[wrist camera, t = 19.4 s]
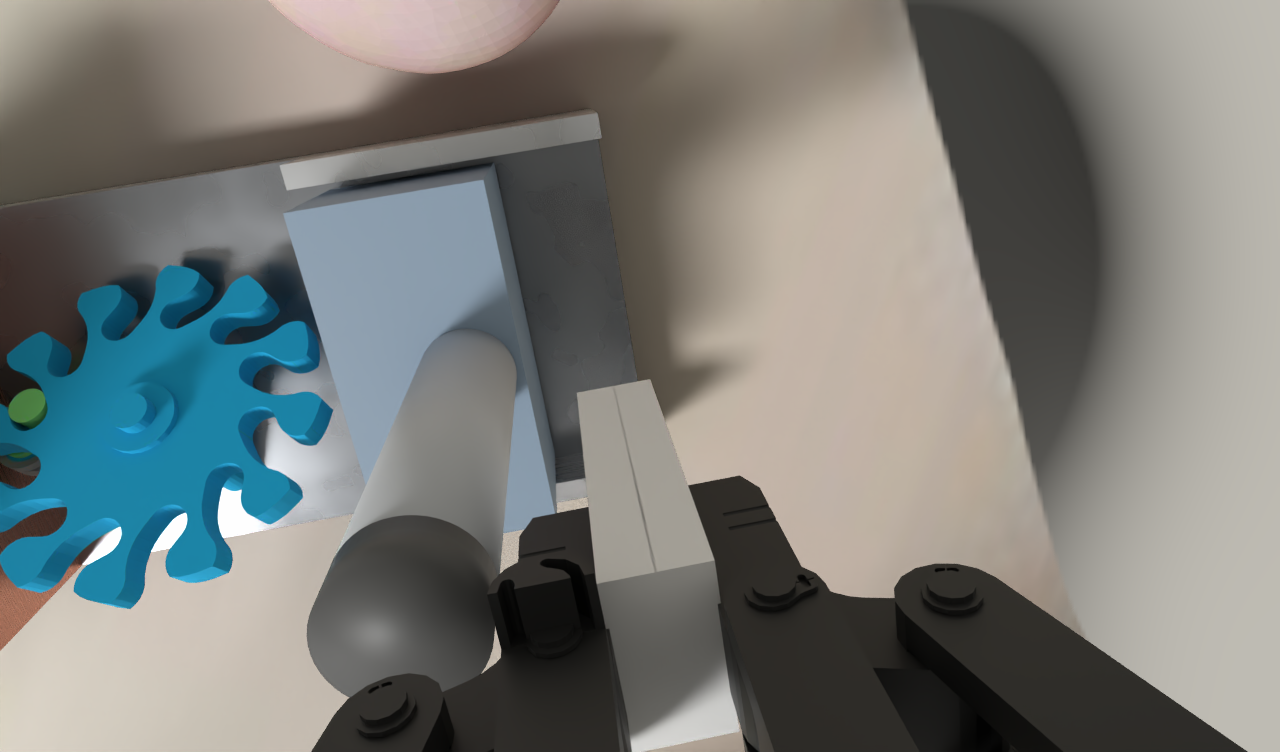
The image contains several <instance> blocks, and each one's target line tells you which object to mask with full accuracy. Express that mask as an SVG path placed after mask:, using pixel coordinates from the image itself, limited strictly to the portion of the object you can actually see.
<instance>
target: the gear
mask: <svg viewBox="0 0 1280 752" xmlns="http://www.w3.org/2000/svg"><path fill="white" fill-rule="evenodd" d="M213 289H214V287H213V286H212V285H211V284H210V283H209V282H208V281H207V280H206V279H205V278H204V277H203V276H202V275H201V274H200V273H198V272H197V271H195V270H193V269H190V268H187V267H182V266H173V265H167V266H166V267H165V268H164V269H163V270H162V271H161V272H160V273H159V275H158V277H157V280H156V291H155V296H154V300H153V303H152V305H151V307H150V309H149V311H148V313H147V314H146V316H145V317H144V318H143V320H142V321H141V322H140V323H139V325H138V326H137V327H136V328H135V329H134V330H133V331H132V332H131V333H130V334H129V335H128V336H127V337H125V338H123V339H121V340H119V338H120V336H121V334H122V333H123V331H124V330H125V329H126V328H127V327H128V326H129V324H130V323H131V322H132V321H133V320H134V318H135V317H136V315H137V312H138V304H137V301H136V300H135V298H133V297H132V296H131V295H130V294H128V293H127V292H126V291H125V290H123V289H122V288H121V287H120V286H119V285H109V286H103V287H99V288H96V289H92V290H90V291H87V292H84V293H82V294H81V295H80V297H79V300H78V303H77V308H78V311H79V313H80V314H81V315H82V317H83V318H84V320H85V323H86V325H87V331H88V341H87V346H86V350H85V353H84V357H83V360H82V362H81V365H80V366H79V367H78V369H77V370H76V371H74V372H73V373H72V374H70V375H68V376H67V373H68V370H69V366H70V363H71V358H72V357H71V352H70V350H69V349H68V347H66V346H65V345H63V344H62V343H60V342H59V341H57V340H56V339H54V338H52V337H51V336H49V335H48V334H46V333H44V332H39V333H37V334H34V335H32V336H31V337H29V338H27V339H26V340H24V341H23V342H22V343H20V344H19V345H18V346H17V347H15V348H14V349H13V350H12V351H11V352H10V353H9V354H7V362H8V365H9V366H10V367H11V368H12V369H14V370H15V371H17V372H19V373H21V374H23V375H24V376H26V377H28V378H30V379H31V380H33V381H35V382H37V383H38V384H39V385H40V387H41V389H42V391H43V392H42V391H40V390H38V389H27V390H24V391H22V392H20V393H19V394H18V395H16V396H15V397H14V398H13V400H12V401H11V403H10V405H9V408H8V407H6V406H4V405H2V404H0V462H1V463H2V464H3V465H4V466H6V467H8V468H11V469H13V470H16V471H18V472H21V473H23V474H25V475H30V476H37V478H36V479H35V480H34V481H33V482H32V483H31V484H30V485H28V486H26V487H25V488H22V489H18V488H16V487H13V486H11V485H8V484H5V483H3V482H0V533H1V532H4V531H7V530H9V529H11V528H12V527H13V526H15V525H16V524H17V523H19V522H20V521H22V520H23V519H25V518H27V517H28V516H30V515H32V514H35V513H37V512H39V511H42V510H46V509H50V508H57V507H67V517H66V520H65V522H64V524H63V525H62V526H61V527H60V528H59V529H58V530H57V531H56V532H54V533H53V534H51V535H48V536H43V537H25V538H21V539H18V540H16V541H14V542H12V543H11V544H10V545H8V546H7V547H6V548H5V549H4V550H3V552H2V553H1V555H0V564H1V566H2V569H3V571H4V572H5V574H6V575H7V577H8V578H9V579H10V580H11V581H12V583H13V584H14V585H15V586H16V587H17V588H21V589H26V590H30V591H34V592H38V593H42V592H45V591H48V590H49V589H51V588H53V587H54V586H55V585H57V584H58V583H59V582H60V580H61V579H62V578H63V576H64V575H65V573H66V571H67V569H68V568H69V566H70V565H71V563H72V562H73V561H74V559H75V558H76V557H77V556H78V555H79V554H80V553H81V552H82V551H83V550H84V549H85V548H86V547H87V546H88V545H90V544H91V543H92V542H93V541H95V540H96V539H98V538H100V537H101V536H103V535H105V534H107V533H108V532H110V531H112V530H114V529H116V528H118V527H121V538H120V540H119V542H118V544H117V545H116V547H115V548H114V549H113V550H112V551H111V552H109V553H108V554H106V555H104V556H102V557H100V558H99V559H97V560H95V561H93V562H91V563H90V564H88V565H87V566H86V567H85V568H84V569H83V570H82V571H81V573H80V574H79V575H78V577H77V579H76V582H75V585H74V592H75V593H76V594H77V595H79V596H80V597H82V598H85V599H87V600H90V601H94V602H98V603H103V604H107V605H111V606H115V607H120V608H127V609H131V608H132V607H133V606H134V605H135V604H136V603H137V602H138V600H139V599H140V597H141V595H142V593H143V590H144V586H145V571H146V565H147V562H148V559H149V556H150V553H151V551H152V549H153V547H154V545H155V543H156V542H157V540H158V539H159V537H160V536H161V535H162V533H163V532H164V531H165V529H166V528H167V527H168V526H169V524H170V523H171V522H172V521H173V520H174V519H175V518H176V517H178V516H179V515H181V514H184V513H186V515H187V524H186V527H185V529H184V531H183V532H182V534H181V535H180V536H179V537H178V539H177V540H176V541H175V543H174V544H173V545H172V547H171V548H170V550H169V552H168V554H167V557H166V570H167V573H168V575H169V576H170V577H172V578H175V579H178V580H182V581H185V582H189V583H197V582H203V581H207V580H211V579H214V578H217V577H219V576H222V575H224V574H226V573H229V571H230V569H231V566H232V561H233V558H232V552H231V550H230V548H229V546H228V545H227V544H226V542H225V541H224V539H223V537H222V534H221V532H220V528H219V524H218V509H219V502H220V497H221V492H222V488H223V487H224V488H226V489H227V490H230V491H239V490H242V492H241V505H242V507H243V509H244V510H245V511H246V513H248V514H249V515H251V516H252V517H254V518H256V519H258V520H260V521H262V522H264V523H266V524H269V525H270V524H272V523H274V522H276V521H278V520H280V519H281V518H282V517H284V516H285V515H286V514H288V513H289V512H290V511H291V510H292V509H293V508H294V507H295V506H296V505H297V504H298V503H299V502H300V501H301V499H302V498H303V492H302V490H301V487H300V486H299V485H298V484H297V483H296V482H295V481H293V480H292V479H290V478H289V477H287V476H286V475H284V474H283V473H281V472H279V471H276V470H273V469H269V468H267V467H266V465H265V464H264V463H263V462H262V460H261V458H260V457H259V455H258V453H257V450H256V448H255V445H254V443H253V433H254V430H255V428H256V427H257V426H258V424H259V423H261V422H262V421H264V420H265V419H268V418H273V417H276V419H277V422H278V424H279V426H280V428H281V429H282V430H283V431H284V432H285V433H286V434H288V435H289V436H290V437H291V438H293V439H294V440H295V441H297V442H298V443H300V444H302V445H306V446H313V445H317V443H318V442H319V441H320V440H321V439H322V437H323V435H324V433H325V432H326V430H327V427H328V425H329V422H330V419H331V416H332V413H333V409H332V408H331V407H330V406H329V405H328V404H327V403H326V402H324V401H323V400H322V399H321V398H320V397H319V396H318V395H317V394H315V393H312V392H299V393H295V394H289V395H272V394H268V393H264V392H261V391H259V390H257V389H255V388H253V379H254V377H255V375H256V373H257V372H258V371H259V370H260V369H261V368H263V367H265V366H268V365H272V364H275V365H280V366H282V367H284V368H286V369H288V370H289V371H291V372H294V373H298V374H304V373H308V372H311V371H313V370H315V369H316V368H318V366H319V362H320V350H319V344H318V340H317V337H316V334H315V333H314V332H313V331H312V330H311V329H310V328H309V327H308V326H307V324H306V323H305V322H301V321H293V322H289V323H286V324H284V325H283V326H281V327H280V328H279V329H277V330H276V331H275V332H273V333H271V334H269V335H268V336H266V337H264V338H261V339H259V340H256V341H253V342H249V343H244V344H232V345H224V343H225V340H226V338H227V336H228V335H229V334H230V333H231V332H232V331H233V330H235V329H237V328H239V327H245V326H261V325H264V324H267V323H269V322H270V321H272V320H273V319H274V318H275V317H276V316H277V315H278V313H279V312H280V310H279V307H278V305H277V303H276V302H275V301H274V299H273V298H272V297H271V296H270V295H269V294H268V293H267V292H266V291H265V290H264V289H263V287H262V286H261V285H260V284H259V283H258V282H257V281H255V280H254V279H253V278H251V277H250V276H249V275H246V276H242V277H240V278H238V279H237V280H235V281H234V282H233V283H232V284H231V285H230V286H229V288H228V289H227V291H226V293H225V295H224V296H223V297H222V299H221V300H220V301H219V303H218V304H217V305H216V306H215V307H214V308H213V309H212V310H210V311H209V312H208V313H206V314H205V315H204V316H202V317H200V318H199V319H197V320H195V321H193V322H191V323H189V324H187V325H185V326H183V327H181V328H178V329H176V326H177V324H178V322H179V321H180V320H181V319H182V318H183V317H184V316H185V315H187V314H189V313H191V312H193V311H195V310H197V309H199V308H201V307H202V306H204V305H205V304H206V303H207V302H208V301H209V300H210V298H211V296H212V294H213Z"/></svg>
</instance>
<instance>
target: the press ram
mask: <svg viewBox="0 0 1280 752" xmlns="http://www.w3.org/2000/svg"><path fill="white" fill-rule="evenodd" d="M283 215H284V218H285V222H286V225H287V228H288V231H289V235H290V238H291V241H292V245H293V248H294V251H295V254H296V258H297V261H298V264H299V268H300V271H301V274H302V277H303V281H304V284H305V287H306V291H307V294H308V297H309V300H310V304H311V307H312V310H313V314H314V317H315V320H316V323H317V327H318V330H319V333H320V336H321V340H322V343H323V346H324V350H325V353H326V356H327V359H328V363H329V366H330V369H331V373H332V376H333V379H334V382H335V386H336V389H337V392H338V396H339V399H340V402H341V405H342V409H343V412H344V415H345V419H346V422H347V425H348V428H349V432H350V435H351V438H352V442H353V445H354V448H355V451H356V455H357V458H358V461H359V465H360V468H361V471H362V474H363V478H364V481H365V484H366V487H365V489H364V491H363V493H362V496H361V498H360V500H359V502H358V505H357V507H356V509H355V512H354V514H353V516H352V518H351V521H350V523H349V525H348V528H347V530H346V532H345V534H344V537H343V539H342V541H341V543H340V546H339V548H338V550H337V553H336V555H335V557H334V559H333V562H332V564H331V566H330V569H329V571H328V573H327V575H326V578H325V580H324V582H323V585H322V587H321V589H320V591H319V594H318V596H317V598H316V600H315V603H314V605H313V608H312V610H311V613H310V615H309V620H308V624H307V642H308V647H309V651H310V655H311V657H312V659H313V661H314V664H315V665H316V667H317V669H318V670H319V672H320V673H321V674H322V676H323V677H324V678H325V679H326V680H327V681H328V682H329V683H330V684H331V685H332V686H333V687H334V688H336V689H337V690H338V691H340V692H341V693H343V694H344V695H346V696H348V697H352V696H353V695H354V694H356V693H357V692H359V691H360V690H362V689H363V688H364V687H366V686H367V685H370V684H372V683H374V682H377V681H379V680H382V679H384V678H386V677H390V676H395V675H401V674H407V673H411V674H419V675H427V676H428V677H430V678H431V679H433V680H435V681H436V682H438V683H439V685H440V688H441V690H442V692H444V691H446V690H448V689H451V688H453V687H455V686H458V685H460V684H462V683H464V682H467V681H469V680H471V679H472V678H474V677H476V676H478V675H480V674H481V673H482V671H483V670H484V668H485V667H486V665H487V663H488V660H489V658H490V655H491V652H492V649H493V642H494V632H495V623H494V620H493V616H492V612H491V608H490V604H489V601H488V597H487V593H488V591H489V588H490V586H491V583H492V581H493V580H494V579H496V578H497V577H498V576H499V575H500V564H501V552H502V541H503V533H507V532H513V531H518V530H523V529H525V528H526V527H527V525H528V524H529V523H530V521H531V520H532V518H535V517H540V516H545V515H550V514H555V513H557V503H556V473H555V452H554V447H553V442H552V437H551V433H550V428H549V423H548V418H547V414H546V409H545V404H544V399H543V394H542V390H541V385H540V380H539V375H538V370H537V366H536V361H535V356H534V351H533V346H532V342H531V337H530V332H529V327H528V323H527V318H526V313H525V308H524V303H523V299H522V294H521V289H520V284H519V279H518V275H517V270H516V265H515V260H514V256H513V251H512V246H511V241H510V236H509V232H508V227H507V222H506V217H505V212H504V208H503V203H502V198H501V193H500V188H499V184H498V179H497V174H496V169H495V165H494V162H492V163H486V164H480V165H474V166H468V167H462V168H456V169H450V170H444V171H438V172H432V173H426V174H420V175H414V176H408V177H402V178H396V179H390V180H384V181H378V182H372V183H366V184H360V185H354V186H348V187H342V188H336V189H330V190H328V191H326V192H324V193H322V194H320V195H318V196H316V197H314V198H312V199H310V200H308V201H306V202H304V203H302V204H300V205H298V206H296V207H294V208H292V209H290V210H288V211H286V212H284V213H283Z"/></svg>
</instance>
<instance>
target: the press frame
mask: <svg viewBox="0 0 1280 752" xmlns="http://www.w3.org/2000/svg"><path fill="white" fill-rule="evenodd" d="M600 138H602V136H601V130H600V124H599V118H598V113H597V112H595V111H593V110H592V109H585V110H579V111H573V112H567V113H561V114H555V115H549V116H542V117H536V118H530V119H524V120H518V121H512V122H506V123H500V124H494V125H488V126H481V127H475V128H469V129H463V130H457V131H451V132H445V133H439V134H433V135H427V136H420V137H414V138H408V139H402V140H396V141H390V142H384V143H378V144H372V145H366V146H359V147H353V148H347V149H341V150H335V151H329V152H323V153H317V154H311V155H305V156H298V157H292V158H286V159H280V160H274V161H268V162H262V163H256V164H250V165H244V166H238V167H231V168H225V169H219V170H213V171H207V172H201V173H195V174H189V175H183V176H177V177H170V178H164V179H158V180H152V181H146V182H140V183H134V184H128V185H122V186H116V187H109V188H103V189H97V190H91V191H85V192H79V193H73V194H67V195H61V196H55V197H48V198H42V199H36V200H30V201H24V202H18V203H12V204H6V205H0V404H2V405H4V406H6V407H8V408H9V405H10V403H11V401H12V400H13V398H14V397H15V396H16V395H18V394H19V393H20V392H22V391H24V390H27V389H38V390H40V391H42V389H41V387H40V385H39V384H38V383H37V382H35V381H33V380H31V379H30V378H28V377H26V376H24V375H23V374H21V373H19V372H17V371H15V370H14V369H12V368H11V367H10V366H9V365H8V362H7V354H9V353H10V352H11V351H12V350H13V349H14V348H15V347H17V346H18V345H19V344H20V343H22V342H23V341H24V340H26V339H27V338H29V337H31V336H32V335H34V334H37V333H39V332H44V333H46V334H48V335H49V336H51V337H52V338H54V339H56V340H57V341H59V342H60V343H62V344H63V345H65V346H66V347H68V349H69V350H70V352H71V357H72V358H71V363H70V366H69V370H68V373H67V376H68V375H70V374H72V373H73V372H74V371H76V370H77V369H78V367H79V366H80V365H81V362H82V360H83V357H84V353H85V350H86V346H87V341H88V331H87V325H86V323H85V320H84V318H83V317H82V315H81V314H80V313H79V311H78V308H77V303H78V300H79V297H80V295H81V294H82V293H84V292H87V291H90V290H92V289H96V288H99V287H103V286H109V285H119V286H120V287H121V288H122V289H123V290H125V291H126V292H127V293H128V294H130V295H131V296H132V297H133V298H135V300H136V301H137V304H138V312H137V315H136V317H135V318H134V320H133V321H132V322H131V323H130V324H129V326H128V327H127V328H126V329H125V330H124V331H123V333H122V334H121V336H120V338H119V340H121V339H123V338H125V337H127V336H128V335H129V334H130V333H131V332H132V331H133V330H134V329H135V328H136V327H137V326H138V325H139V323H140V322H141V321H142V320H143V318H144V317H145V316H146V314H147V313H148V311H149V309H150V307H151V305H152V303H153V300H154V296H155V291H156V280H157V277H158V275H159V273H160V272H161V271H162V270H163V269H164V268H165V267H166V266H167V265H173V266H182V267H187V268H190V269H193V270H195V271H197V272H198V273H200V274H201V275H202V276H203V277H204V278H205V279H206V280H207V281H208V282H209V283H210V284H211V285H212V286H213V287H214V289H213V294H212V296H211V298H210V300H209V301H208V302H207V303H206V304H205V305H204V306H202V307H201V308H199V309H197V310H195V311H193V312H191V313H189V314H187V315H185V316H184V317H183V318H182V319H181V320H180V321H179V322H178V324H177V326H176V329H178V328H181V327H183V326H185V325H187V324H189V323H191V322H193V321H195V320H197V319H199V318H200V317H202V316H204V315H205V314H206V313H208V312H209V311H210V310H212V309H213V308H214V307H215V306H216V305H217V304H218V303H219V301H220V300H221V299H222V297H223V296H224V295H225V293H226V291H227V289H228V288H229V286H230V285H231V284H232V283H233V282H234V281H235V280H237V279H238V278H240V277H242V276H246V275H249V276H250V277H251V278H253V279H254V280H255V281H257V282H258V283H259V284H260V285H261V286H262V287H263V289H264V290H265V291H266V292H267V293H268V294H269V295H270V296H271V297H272V298H273V299H274V301H275V302H276V303H277V305H278V307H279V310H280V312H279V313H278V315H277V316H276V317H275V318H274V319H273V320H272V321H270V322H269V323H267V324H264V325H261V326H245V327H239V328H237V329H235V330H233V331H232V332H231V333H230V334H229V335H228V336H227V338H226V340H225V343H224V345H232V344H244V343H249V342H253V341H256V340H259V339H261V338H264V337H266V336H268V335H269V334H271V333H273V332H275V331H276V330H277V329H279V328H280V327H281V326H283V325H284V324H286V323H289V322H293V321H301V322H305V323H306V324H307V326H308V327H309V328H310V329H311V330H312V331H313V332H314V333H315V334H316V337H317V340H318V344H319V350H320V362H319V366H318V368H316V369H315V370H313V371H311V372H308V373H304V374H298V373H294V372H291V371H289V370H288V369H286V368H284V367H282V366H280V365H275V364H272V365H268V366H265V367H263V368H261V369H260V370H259V371H258V372H257V373H256V375H255V377H254V379H253V388H255V389H257V390H259V391H261V392H264V393H268V394H272V395H289V394H295V393H299V392H312V393H315V394H317V395H318V396H319V397H320V398H321V399H322V400H323V401H324V402H326V403H327V404H328V405H329V406H330V407H331V408H332V409H333V413H332V416H331V419H330V422H329V425H328V427H327V430H326V432H325V433H324V435H323V437H322V439H321V440H320V441H319V442H318V443H317V445H313V446H306V445H302V444H300V443H298V442H297V441H295V440H294V439H293V438H291V437H290V436H289V435H288V434H286V433H285V432H284V431H283V430H282V429H281V428H280V426H279V424H278V422H277V419H276V417H273V418H268V419H265V420H264V421H262V422H261V423H259V424H258V426H257V427H256V428H255V430H254V433H253V443H254V445H255V448H256V450H257V453H258V455H259V457H260V458H261V460H262V462H263V463H264V464H265V465H266V467H267V468H269V469H273V470H276V471H279V472H281V473H283V474H284V475H286V476H287V477H289V478H290V479H292V480H293V481H295V482H296V483H297V484H298V485H299V486H300V487H301V490H302V492H303V498H302V499H301V501H300V502H299V503H298V504H297V505H296V506H295V507H294V508H293V509H292V510H291V511H290V512H289V513H288V514H286V515H285V516H284V517H282V518H281V519H280V520H278V521H276V522H274V523H272V524H270V525H269V524H266V523H264V522H262V521H260V520H258V519H256V518H254V517H252V516H251V515H249V514H248V513H246V511H245V510H244V509H243V507H242V505H241V492H242V490H239V491H230V490H227V489H226V488H224V487H223V488H222V492H221V497H220V502H219V509H218V524H219V528H220V532H221V534H222V537H223V538H227V537H232V536H238V535H243V534H248V533H254V532H259V531H264V530H270V529H275V528H280V527H285V526H291V525H296V524H301V523H307V522H312V521H317V520H323V519H328V518H333V517H339V516H344V515H349V514H354V512H355V509H356V507H357V505H358V502H359V500H360V498H361V496H362V493H363V491H364V489H365V487H366V484H365V481H364V478H363V474H362V471H361V468H360V465H359V461H358V458H357V455H356V451H355V448H354V445H353V442H352V438H351V435H350V432H349V428H348V425H347V422H346V419H345V415H344V412H343V409H342V405H341V402H340V399H339V396H338V392H337V389H336V386H335V382H334V379H333V376H332V373H331V369H330V366H329V363H328V359H327V356H326V353H325V350H324V346H323V343H322V340H321V336H320V333H319V330H318V327H317V323H316V320H315V317H314V314H313V310H312V307H311V304H310V300H309V297H308V294H307V291H306V287H305V284H304V281H303V277H302V274H301V271H300V268H299V264H298V261H297V258H296V254H295V251H294V248H293V245H292V241H291V238H290V235H289V231H288V228H287V225H286V222H285V218H284V215H283V213H284V212H286V211H288V210H290V209H292V208H294V207H296V206H298V205H300V204H302V203H304V202H306V201H308V200H310V199H312V198H314V197H316V196H318V195H320V194H322V193H324V192H326V191H328V190H330V189H336V188H342V187H348V186H354V185H360V184H366V183H372V182H378V181H384V180H390V179H396V178H402V177H408V176H414V175H420V174H426V173H432V172H438V171H444V170H450V169H456V168H462V167H468V166H474V165H480V164H486V163H492V162H494V165H495V169H496V174H497V179H498V184H499V188H500V193H501V198H502V203H503V208H504V212H505V217H506V222H507V227H508V232H509V236H510V241H511V246H512V251H513V256H514V260H515V265H516V270H517V275H518V279H519V284H520V289H521V294H522V299H523V303H524V308H525V313H526V318H527V323H528V327H529V332H530V337H531V342H532V346H533V351H534V356H535V361H536V366H537V370H538V375H539V380H540V385H541V390H542V394H543V399H544V404H545V409H546V414H547V418H548V423H549V428H550V433H551V437H552V442H553V447H554V452H555V473H556V503H558V502H563V501H569V500H574V499H579V498H585V497H587V487H586V477H585V467H584V458H583V448H582V438H581V429H580V419H579V409H578V399H577V393H578V392H584V391H589V390H594V389H600V388H605V387H611V386H616V385H621V384H627V383H632V382H637V381H638V379H637V373H636V367H635V361H634V355H633V349H632V343H631V337H630V330H629V324H628V318H627V312H626V306H625V300H624V294H623V288H622V281H621V275H620V269H619V263H618V257H617V251H616V245H615V239H614V232H613V226H612V220H611V214H610V208H609V202H608V196H607V189H606V183H605V177H604V171H603V165H602V159H601V153H600V147H599V140H598V139H600ZM42 392H43V391H42ZM36 478H37V476H30V475H25V474H23V473H21V472H18V471H16V470H13V469H11V468H8V467H6V466H4V465H3V464H2V463H1V462H0V482H3V483H5V484H8V485H11V486H13V487H16V488H18V489H22V488H25V487H26V486H28V485H30V484H31V483H32V482H33V481H34V480H35V479H36ZM66 517H67V507H57V508H50V509H46V510H42V511H39V512H37V513H35V514H32V515H30V516H28V517H27V518H25V519H23V520H22V521H20V522H19V523H17V524H16V525H15V526H13V527H12V528H11V529H9V530H7V531H4V532H1V533H0V555H1V553H2V552H3V550H4V549H5V548H6V547H7V546H8V545H10V544H11V543H12V542H14V541H16V540H18V539H21V538H25V537H43V536H48V535H51V534H53V533H54V532H56V531H57V530H58V529H59V528H60V527H61V526H62V525H63V524H64V522H65V520H66ZM186 524H187V515H186V513H184V514H181V515H179V516H178V517H176V518H175V519H174V520H173V521H172V522H171V523H170V524H169V526H168V527H167V528H166V529H165V531H164V532H163V533H162V535H161V536H160V537H159V539H158V540H157V542H156V543H155V545H154V547H153V549H152V551H158V550H163V549H168V548H171V547H172V545H173V544H174V543H175V541H176V540H177V539H178V537H179V536H180V535H181V534H182V532H183V531H184V529H185V527H186ZM120 538H121V527H118V528H116V529H114V530H112V531H110V532H108V533H107V534H105V535H103V536H101V537H100V538H98V539H96V540H95V541H93V542H92V543H91V544H90V545H88V546H87V547H86V548H85V549H84V550H83V551H82V552H81V553H80V554H79V555H78V556H77V557H76V558H75V559H74V561H73V562H72V563H71V565H70V566H69V568H68V569H67V571H66V573H65V575H64V576H63V578H62V579H61V580H60V582H59V583H58V584H57V585H55V586H54V587H53V588H51V589H49V590H48V591H45V592H42V593H38V592H34V591H30V590H26V589H21V588H17V587H16V586H15V585H14V584H13V583H12V581H11V580H10V579H9V578H8V577H7V575H6V574H5V572H4V571H3V569H2V566H1V564H0V650H1V649H2V648H3V647H4V646H5V645H6V644H7V643H8V642H9V641H10V640H11V639H12V638H13V637H14V636H15V635H16V634H17V633H18V632H19V631H20V630H21V628H22V627H23V626H24V625H25V624H26V623H27V622H28V621H29V620H30V619H31V618H32V617H33V616H34V615H35V614H36V613H37V612H38V611H39V610H40V609H41V608H42V606H43V605H44V604H45V603H46V602H47V601H48V600H49V599H50V598H51V597H52V596H53V595H54V594H55V593H56V592H57V591H58V590H59V589H60V588H61V587H62V586H63V584H64V583H65V582H66V581H67V580H68V579H69V578H70V577H71V576H72V575H73V574H74V573H75V572H76V571H77V570H78V569H79V568H80V567H81V566H82V565H83V564H88V563H91V562H93V561H95V560H97V559H99V558H100V557H102V556H104V555H106V554H108V553H109V552H111V551H112V550H113V549H114V548H115V547H116V545H117V544H118V542H119V540H120ZM152 551H151V552H152Z"/></svg>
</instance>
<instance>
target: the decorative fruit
mask: <svg viewBox="0 0 1280 752" xmlns="http://www.w3.org/2000/svg"><path fill="white" fill-rule="evenodd" d="M268 1H269V2H270V3H271V4H272V5H273V6H274V7H275V8H276V9H277V10H278V11H279V12H280V13H281V14H283V15H284V16H285V17H286V18H287V19H289V20H290V21H291V22H292V23H293V24H295V25H296V26H298V27H299V28H300V29H302V30H303V31H305V32H306V33H308V34H309V35H310V36H312V37H313V38H315V39H316V40H318V41H320V42H321V43H323V44H324V45H326V46H328V47H330V48H332V49H334V50H336V51H338V52H340V53H342V54H344V55H346V56H348V57H351V58H353V59H355V60H358V61H360V62H363V63H366V64H369V65H374V66H379V67H384V68H388V69H393V70H399V71H406V72H414V73H426V74H432V73H446V72H452V71H458V70H463V69H467V68H471V67H474V66H478V65H480V64H483V63H486V62H489V61H491V60H494V59H496V58H498V57H500V56H502V55H504V54H506V53H507V52H509V51H511V50H512V49H514V48H516V47H517V46H518V45H520V44H521V43H522V42H523V41H525V40H526V39H527V38H529V37H530V36H531V35H532V34H533V33H534V32H535V31H536V30H537V29H538V28H539V27H540V26H541V25H542V24H543V23H544V21H545V20H546V19H547V18H548V17H549V15H550V14H551V13H552V11H553V10H554V8H555V7H556V5H557V4H558V2H559V1H560V0H268Z"/></svg>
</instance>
